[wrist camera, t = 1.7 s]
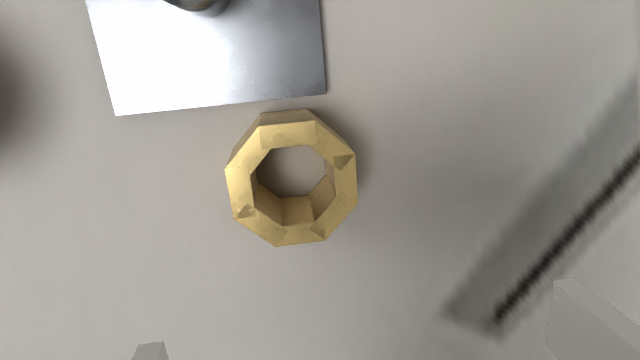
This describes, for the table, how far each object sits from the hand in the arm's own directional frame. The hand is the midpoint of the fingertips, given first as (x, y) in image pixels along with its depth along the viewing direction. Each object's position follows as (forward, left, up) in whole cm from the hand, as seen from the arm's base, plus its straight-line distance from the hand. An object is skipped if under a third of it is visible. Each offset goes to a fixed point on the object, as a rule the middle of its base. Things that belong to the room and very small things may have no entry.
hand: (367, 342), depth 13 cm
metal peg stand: (-6, +13, -17) cm, 23 cm away
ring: (-2, +1, -17) cm, 17 cm away
